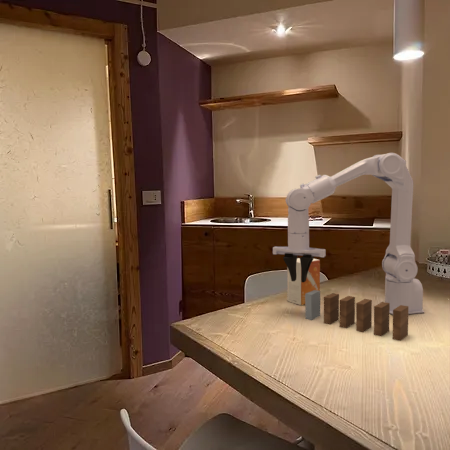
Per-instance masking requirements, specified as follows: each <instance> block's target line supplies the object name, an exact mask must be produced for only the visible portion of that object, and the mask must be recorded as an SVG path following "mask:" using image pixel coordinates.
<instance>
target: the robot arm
mask: <svg viewBox="0 0 450 450" xmlns="http://www.w3.org/2000/svg"><path fill="white" fill-rule="evenodd" d="M363 175H368V176H370V175H371V176H373V177H374V178H377V179H379V180H381V181H383V182H384V183H385V184H387V186H389V187H390V188H391V203H390V204H391V205H390V207H391V210H390V230H389V244H388V246H387V247H386V249H385V255H384V257H383V259H382V261H381V267H382V270H383V271H384V273H385V278H384V279H385V280H384V284H385V285H384V302H386V303H390V310H389V315H392V316H393V310H394V309H395V308H397V307H399V306H400V305H403V306H408V315H411V314H421V313H422V314H423V313H425V310H424V308H423V306H424V305H423V304H424V302H423V301H424V299H423V298H424V289H423V284H422V283H421V281H420V280H419V279H418V278H416V276H417V274H418V270H419V268H418V265H417V263H416V260H415V259H416V255H415V252H414V250H413V248H412V247H411V239H412V238H411V237H412V222H413V220H412V219H413V218H412V217H413V202H414V201H413V198H414V180H413V177H412V176H411V173H410V172H409V169H408V167H407V161H406V160H405V159H404V158H403V157H401V155H399V154H398V153H395V152H388V153H383V154H374V155H373V156H372V157H367V158H364V159H362V160H359V161H357V162H356V163H353V164H352V165H350V166H348V167H346V168H344V169H343V170H341V171H338V172H336V173H334V174H333V175H331V176H329V175H328V174H318V175H316V176H315V179H313V180H310V181H309V182H307V183H301V184H300V185H299V187H300V188H294V189H291V190H290V191H288V193H287V194H286V197H285V204H286V206H287V212H288V213H287V215H288V216H287V246H273V247H272V255H284V256H283V257H282V259H283V261H284V263H285V264H286V268H287V267H288V270H289V272H290V276H291V281H295V280H296V277H297V275H296V263H297V258H298V256H300V257H299V258H300V262H301V282H305V281H306V278H307V274H308V270H309V267H310V265H311V263H312V261H313V259H315V257H317V258H325V257H326V256H327V255H326V249H325V248H317V247H310V216H309V208H310V206H311V205H312V204H315V203H318V202H319V201H322V200H323V199H326V198H328V197H330V196H332V195H333V194H335V192H336V189H337V187H339V186H342V185H345V184H346V183H348V182H350V181H352V180H355V179H356V178H359V177H361V176H363Z"/></svg>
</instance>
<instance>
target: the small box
mask: <svg viewBox="0 0 450 450" xmlns="http://www.w3.org/2000/svg"><path fill="white" fill-rule="evenodd" d="M300 258H301V257H297V263H296V275H297V277H296V280H295V281H291V276H290V272H289V270H288V267H287V266H286V269H287V272H286V273H287V274H286V275H287V285H286V286H287V291H286V292H287V296H286V297H287V302H290V303H293V304H295V305H299V306H303V305H304V306H305V294H306V293H308V292H311V291H313V290H318V291H320V292H321V289H320V288H321V282H320V281H321V259H317V258H314V259H313V261H312V263H311V265H310V267H309V270H308V274H307V278H306V281H305V282H301V262H300Z"/></svg>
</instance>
